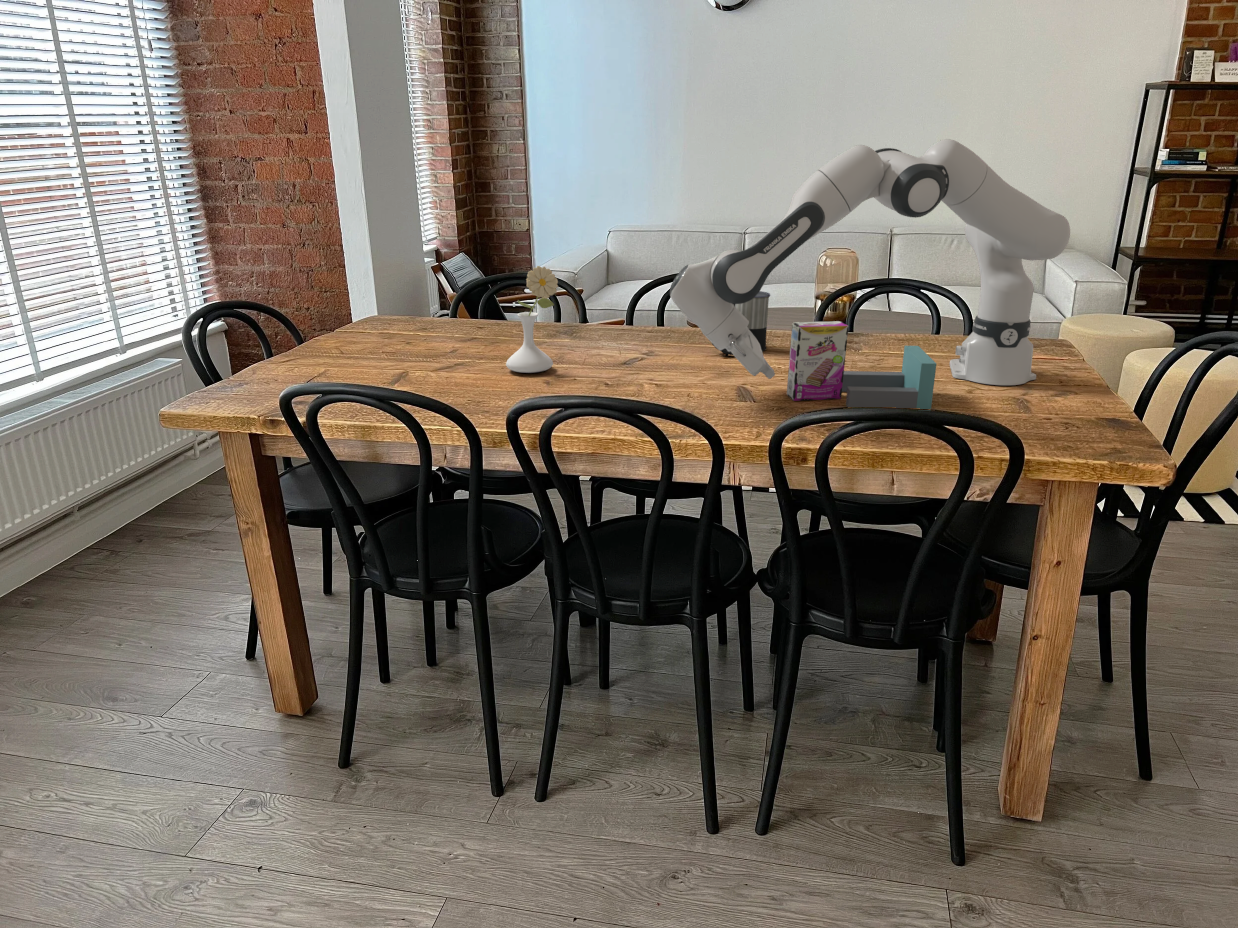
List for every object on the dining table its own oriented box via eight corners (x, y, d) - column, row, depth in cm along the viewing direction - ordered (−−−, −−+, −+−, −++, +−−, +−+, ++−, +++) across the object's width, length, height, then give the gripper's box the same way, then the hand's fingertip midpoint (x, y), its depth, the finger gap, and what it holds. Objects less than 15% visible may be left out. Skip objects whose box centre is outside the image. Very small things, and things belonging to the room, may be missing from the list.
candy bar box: (793, 402, 197) (798, 326, 191) (785, 395, 201) (790, 321, 196) (843, 399, 199) (849, 324, 193) (834, 393, 203) (840, 320, 198)
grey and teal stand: (836, 388, 207) (840, 344, 204) (913, 389, 206) (918, 345, 202) (848, 408, 192) (852, 362, 189) (930, 410, 191) (936, 363, 187)
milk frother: (767, 345, 247) (771, 290, 242) (765, 359, 232) (769, 301, 227) (714, 343, 249) (716, 289, 244) (709, 357, 235) (711, 299, 230)
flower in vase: (507, 377, 216) (502, 270, 207) (505, 365, 227) (500, 263, 218) (562, 375, 218) (559, 269, 209) (557, 363, 229) (555, 262, 220)
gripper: (742, 330, 186) (787, 378, 188) (737, 311, 205) (779, 354, 208) (719, 351, 188) (764, 398, 190) (716, 330, 207) (758, 373, 209)
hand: (772, 375), depth 199 cm, fingers closed
